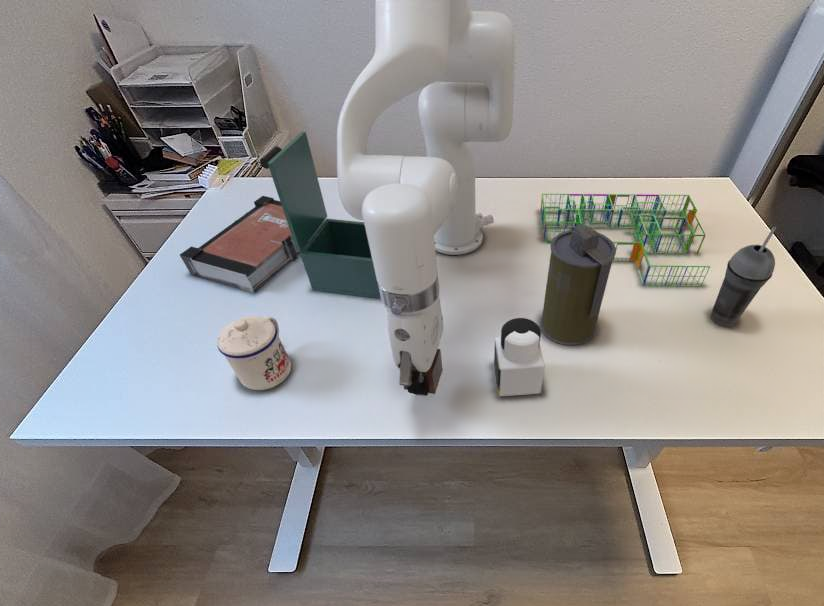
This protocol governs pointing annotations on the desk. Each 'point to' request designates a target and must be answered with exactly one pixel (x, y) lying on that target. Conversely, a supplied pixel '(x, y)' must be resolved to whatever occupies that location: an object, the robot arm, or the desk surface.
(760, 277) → the beverage cup
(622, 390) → the desk surface
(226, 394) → the desk surface
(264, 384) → the teacup with lid
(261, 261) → the book
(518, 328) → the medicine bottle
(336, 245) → the tin
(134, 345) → the desk surface
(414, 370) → the block
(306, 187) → the lid
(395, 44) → the robot arm
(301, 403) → the desk surface
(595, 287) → the canister
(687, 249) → the house model
